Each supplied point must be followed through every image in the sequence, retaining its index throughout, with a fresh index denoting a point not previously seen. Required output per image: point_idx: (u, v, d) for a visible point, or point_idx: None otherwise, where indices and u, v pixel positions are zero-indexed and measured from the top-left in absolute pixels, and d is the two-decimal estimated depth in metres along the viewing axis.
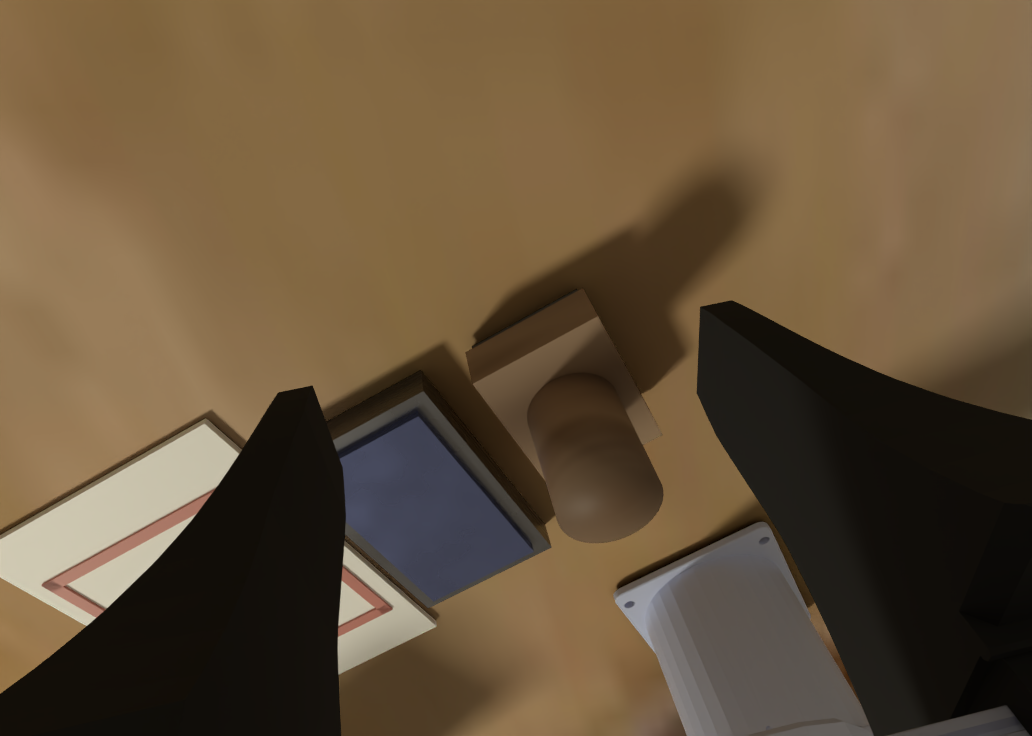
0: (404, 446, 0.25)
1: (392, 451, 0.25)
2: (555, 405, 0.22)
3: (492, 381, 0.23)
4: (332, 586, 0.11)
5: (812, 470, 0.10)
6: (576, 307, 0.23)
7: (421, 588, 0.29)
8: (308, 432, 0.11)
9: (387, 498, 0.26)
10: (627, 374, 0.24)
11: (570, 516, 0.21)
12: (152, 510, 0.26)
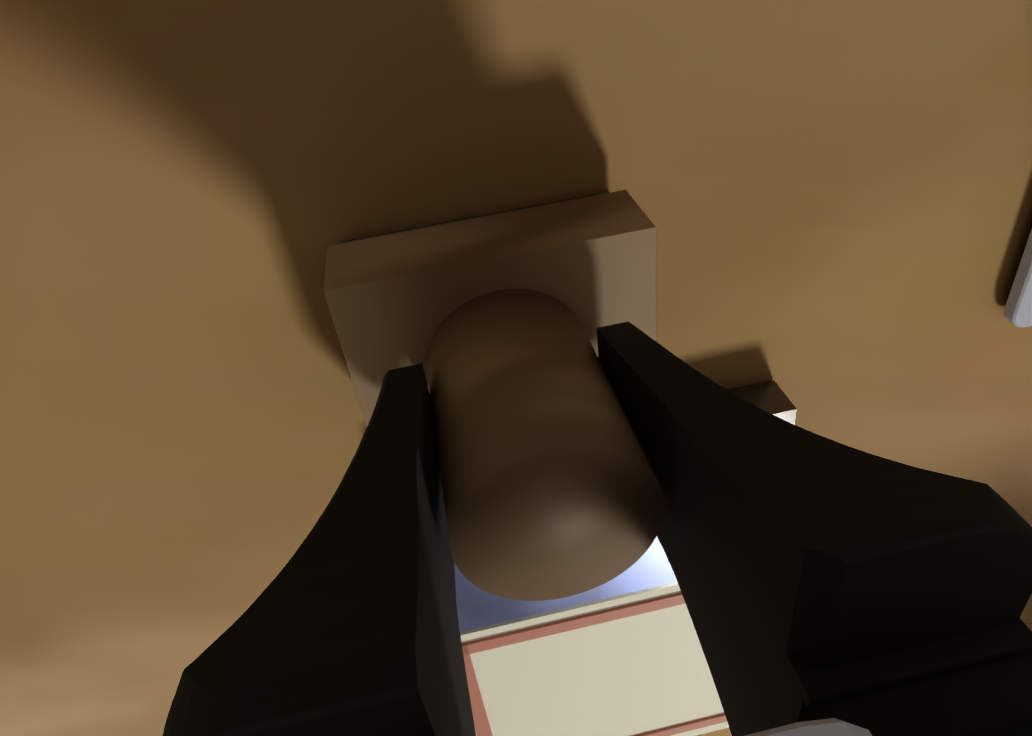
0: None
1: None
2: None
3: None
4: (450, 560, 0.12)
5: (683, 499, 0.10)
6: None
7: None
8: (426, 407, 0.12)
9: None
10: (475, 265, 0.13)
11: (543, 584, 0.11)
12: None
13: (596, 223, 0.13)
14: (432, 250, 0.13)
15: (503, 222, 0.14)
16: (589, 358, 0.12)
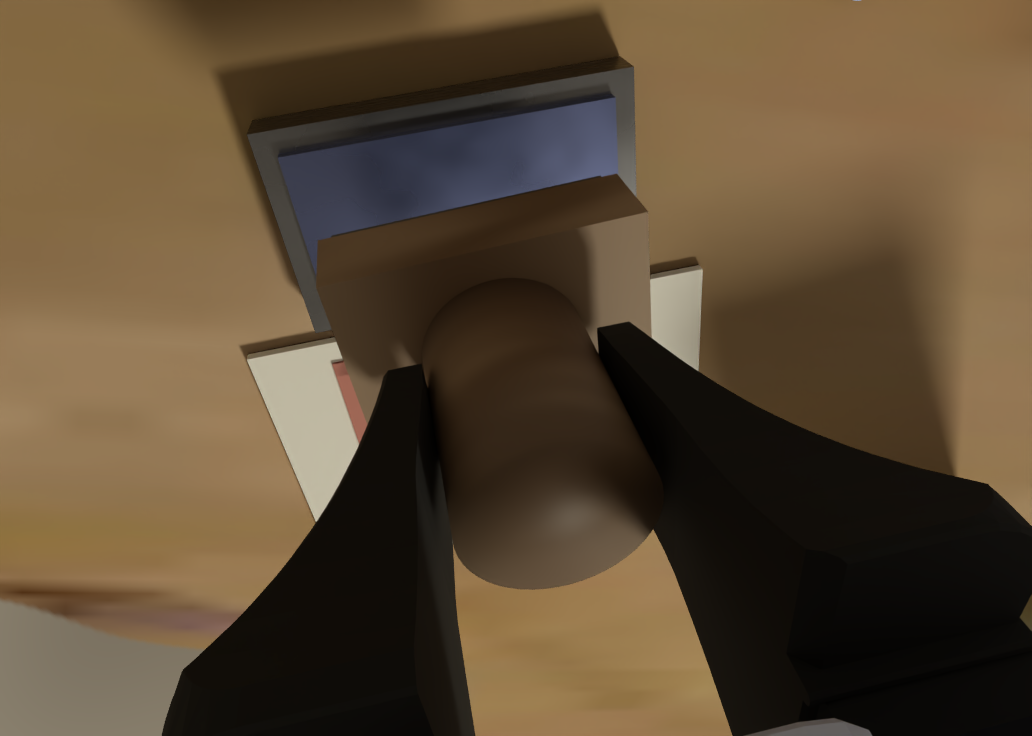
0: (323, 192, 0.19)
1: (326, 209, 0.19)
2: None
3: None
4: (449, 560, 0.12)
5: (683, 499, 0.10)
6: None
7: None
8: (426, 408, 0.12)
9: None
10: (468, 256, 0.13)
11: (545, 573, 0.11)
12: (344, 441, 0.25)
13: (588, 209, 0.13)
14: (424, 242, 0.13)
15: (495, 210, 0.14)
16: (585, 347, 0.12)
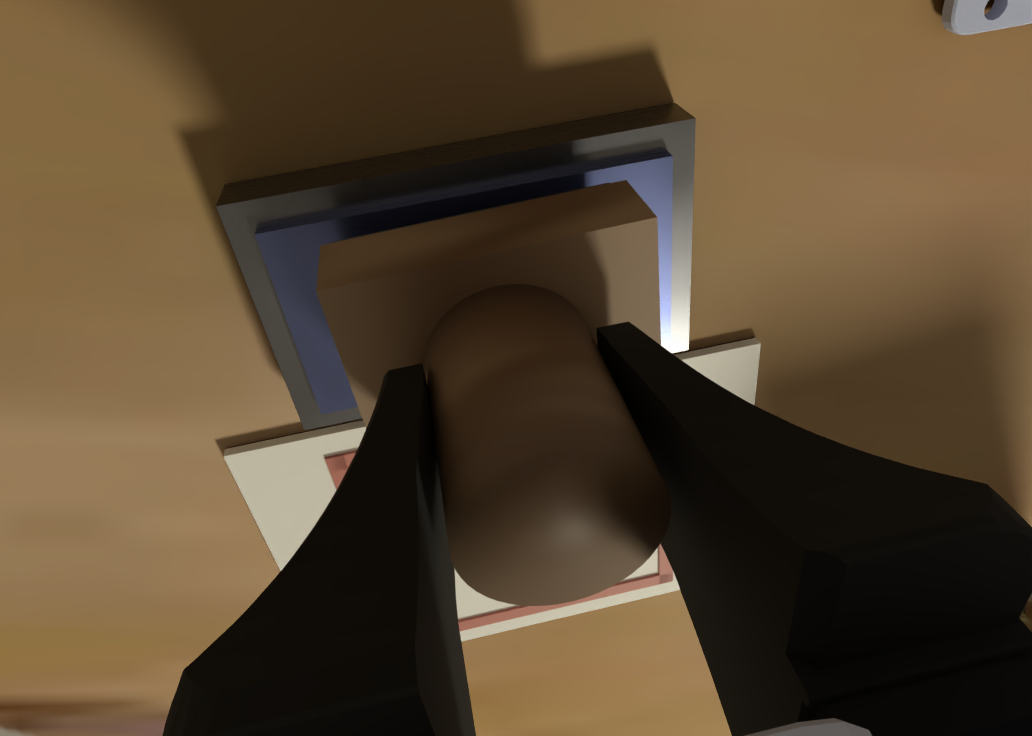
0: (312, 273, 0.15)
1: (316, 293, 0.15)
2: None
3: None
4: (450, 560, 0.12)
5: (683, 499, 0.10)
6: None
7: None
8: (427, 407, 0.12)
9: None
10: (471, 261, 0.12)
11: (547, 589, 0.11)
12: None
13: (596, 214, 0.13)
14: (428, 246, 0.13)
15: (500, 216, 0.13)
16: (591, 354, 0.12)
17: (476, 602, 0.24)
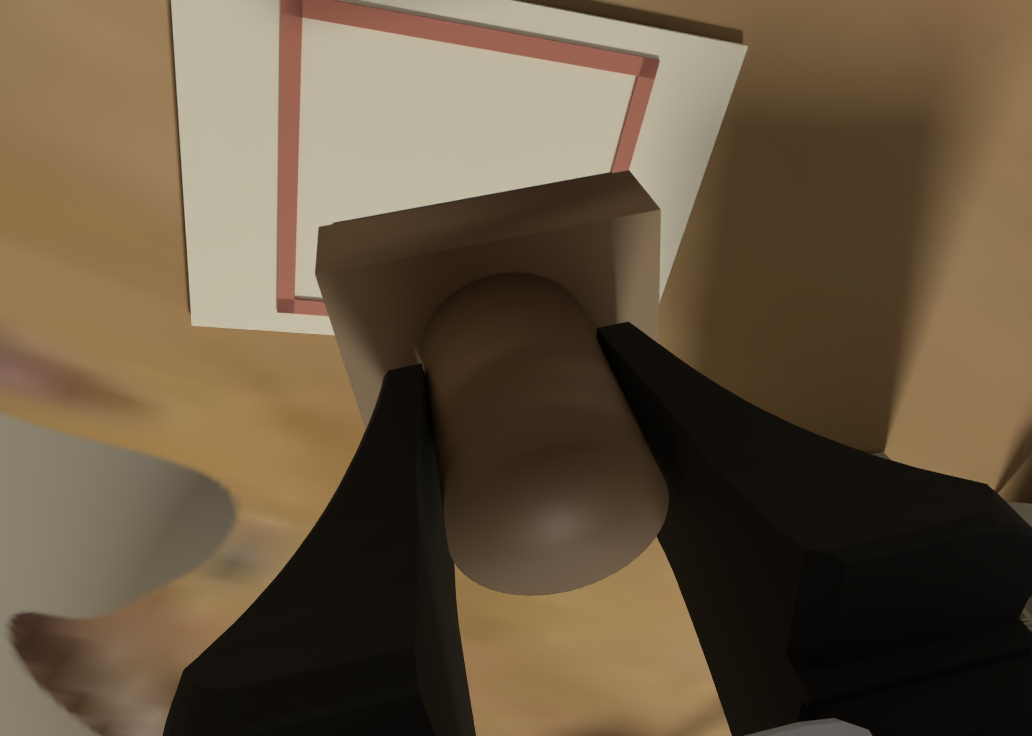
0: None
1: None
2: None
3: None
4: (450, 560, 0.12)
5: (683, 499, 0.10)
6: None
7: None
8: (426, 408, 0.12)
9: None
10: (473, 248, 0.12)
11: (542, 579, 0.11)
12: (260, 126, 0.19)
13: (599, 205, 0.13)
14: (428, 232, 0.13)
15: (502, 203, 0.13)
16: (591, 346, 0.12)
17: None
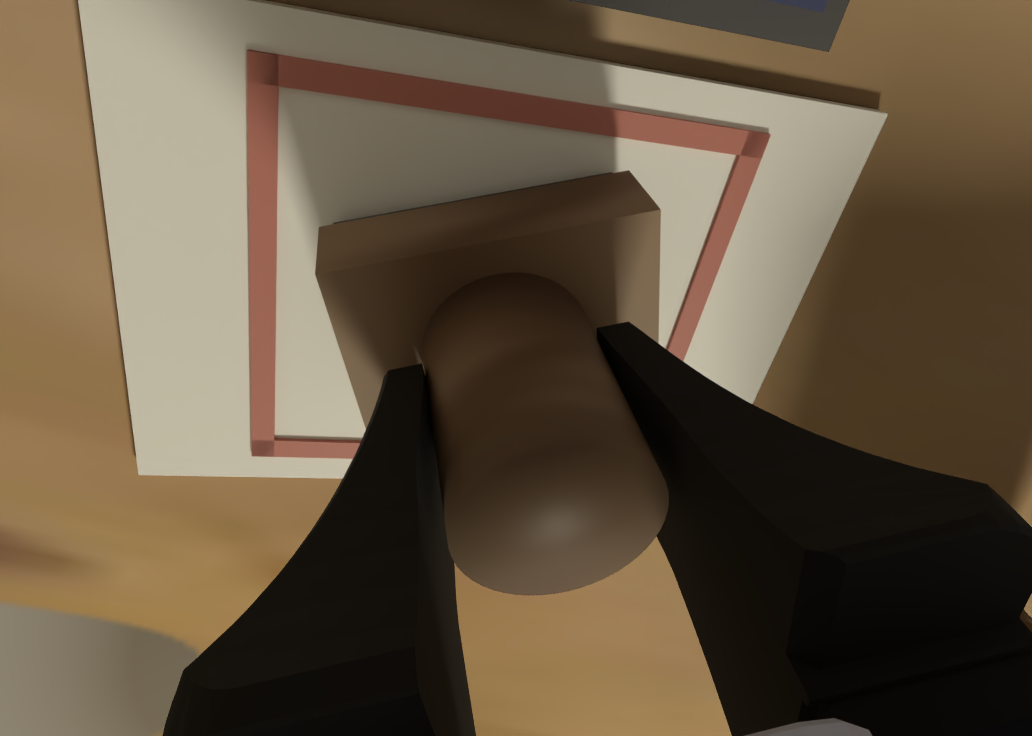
0: None
1: None
2: None
3: None
4: (450, 560, 0.12)
5: (683, 499, 0.10)
6: None
7: None
8: (426, 408, 0.12)
9: None
10: (473, 248, 0.12)
11: (542, 579, 0.11)
12: (223, 230, 0.14)
13: (599, 205, 0.13)
14: (428, 232, 0.13)
15: (502, 203, 0.13)
16: (591, 346, 0.12)
17: None
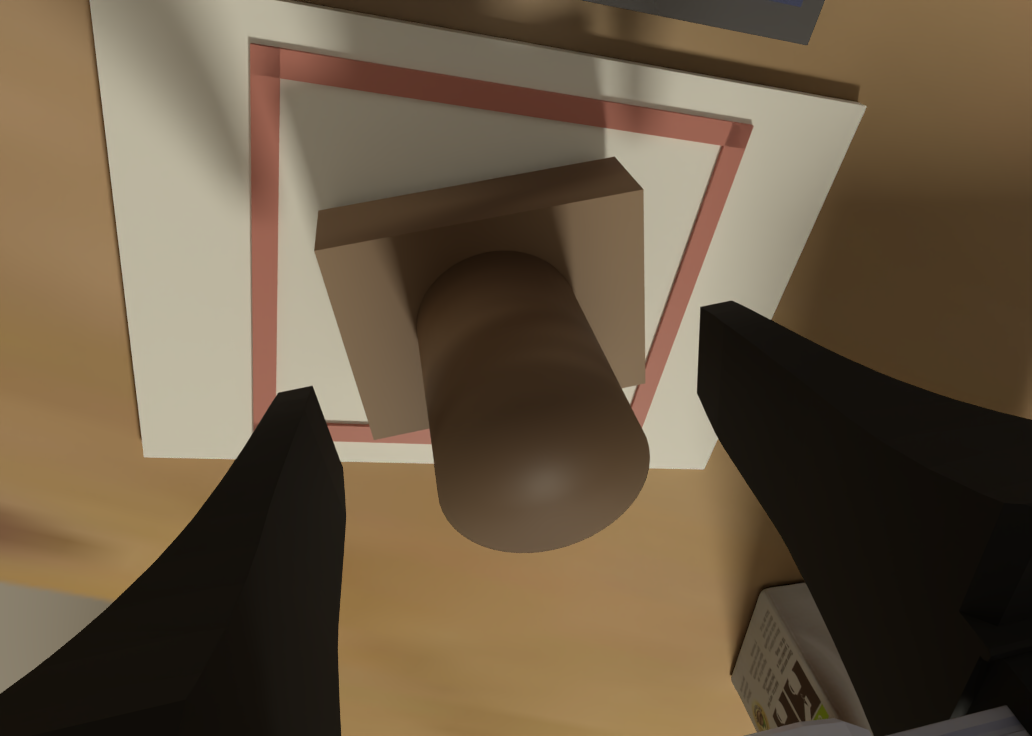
0: None
1: None
2: None
3: (380, 417, 0.15)
4: (332, 586, 0.11)
5: (812, 470, 0.10)
6: None
7: None
8: (308, 432, 0.11)
9: None
10: (465, 226, 0.13)
11: (530, 536, 0.11)
12: (226, 217, 0.14)
13: (585, 186, 0.13)
14: (423, 212, 0.13)
15: (493, 187, 0.14)
16: (577, 316, 0.12)
17: None
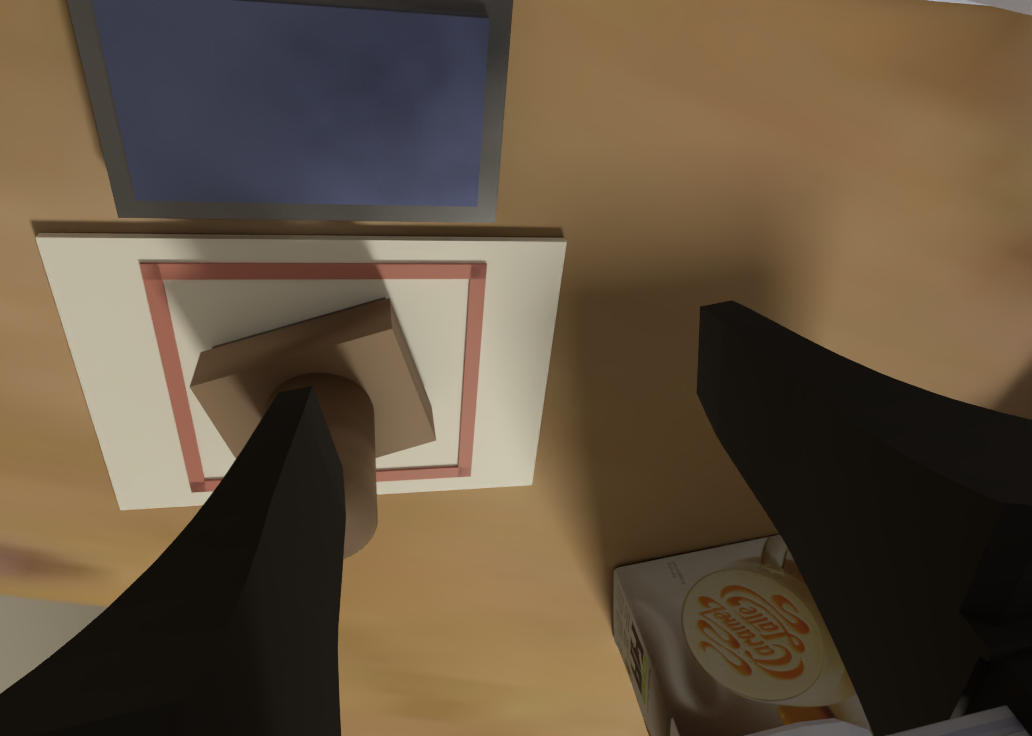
0: (142, 46, 0.16)
1: (143, 68, 0.17)
2: None
3: None
4: (332, 586, 0.11)
5: (812, 470, 0.10)
6: None
7: (439, 203, 0.20)
8: (308, 432, 0.11)
9: (231, 131, 0.18)
10: (281, 363, 0.20)
11: None
12: (145, 359, 0.22)
13: (360, 326, 0.21)
14: (259, 352, 0.21)
15: (308, 328, 0.22)
16: (345, 417, 0.20)
17: None
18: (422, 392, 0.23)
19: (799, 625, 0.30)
